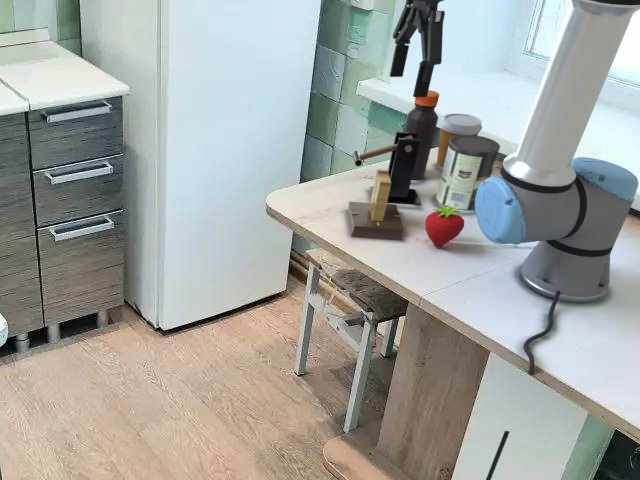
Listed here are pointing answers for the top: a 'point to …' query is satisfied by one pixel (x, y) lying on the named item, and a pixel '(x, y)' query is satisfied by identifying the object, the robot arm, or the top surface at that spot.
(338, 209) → the top surface
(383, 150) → the door handle
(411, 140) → the bracket
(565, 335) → the top surface
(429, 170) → the top surface
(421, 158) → the bottle
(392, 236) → the plate
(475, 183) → the coffee can
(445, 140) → the disposable coffee cup
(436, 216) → the strawberry
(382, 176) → the thumb turn
